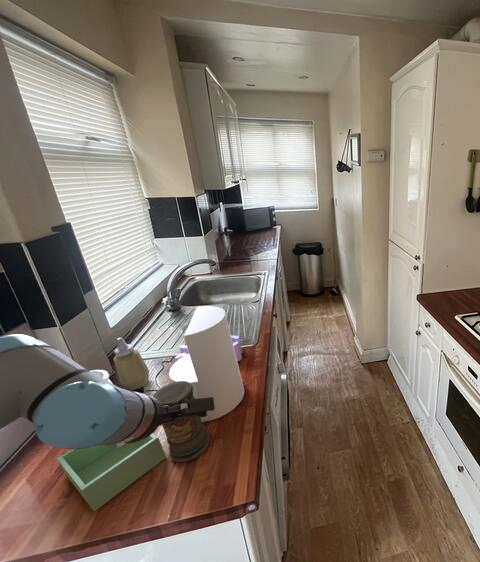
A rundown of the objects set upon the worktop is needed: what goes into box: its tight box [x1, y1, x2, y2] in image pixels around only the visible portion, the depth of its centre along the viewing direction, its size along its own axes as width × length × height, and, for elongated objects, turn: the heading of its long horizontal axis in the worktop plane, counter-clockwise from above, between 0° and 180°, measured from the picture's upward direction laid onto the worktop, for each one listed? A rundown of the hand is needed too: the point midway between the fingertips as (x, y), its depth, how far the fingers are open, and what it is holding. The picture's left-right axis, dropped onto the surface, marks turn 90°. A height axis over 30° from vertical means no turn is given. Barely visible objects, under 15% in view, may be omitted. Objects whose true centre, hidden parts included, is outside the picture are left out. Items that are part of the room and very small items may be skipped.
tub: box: [56, 432, 167, 512], centre depth 73 cm, size 15×15×7 cm
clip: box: [174, 335, 244, 363], centre depth 111 cm, size 20×12×7 cm, turn 110°
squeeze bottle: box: [113, 337, 150, 391], centre depth 99 cm, size 8×8×18 cm
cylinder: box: [168, 305, 245, 423], centre depth 89 cm, size 17×17×28 cm
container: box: [152, 381, 211, 464], centre depth 75 cm, size 9×9×18 cm
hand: (170, 420), depth 68 cm, fingers open, 13 cm apart
